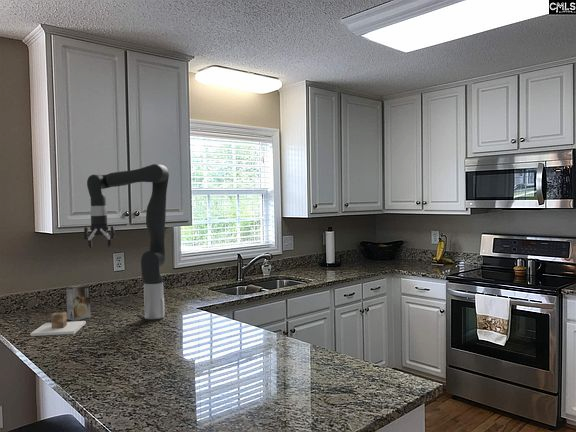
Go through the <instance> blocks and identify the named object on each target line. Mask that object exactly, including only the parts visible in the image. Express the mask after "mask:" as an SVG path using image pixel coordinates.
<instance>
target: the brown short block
mask: <svg viewBox="0 0 576 432" xmlns="http://www.w3.org/2000/svg"><path fill="white" fill-rule="evenodd" d="M50 317H51V318H50V319H51V320H50V321H51V322H50V323H52V329H54V328H64V327H65V326H66V325H67V322H68V316H67V311H63V312H54V313H52V314H51V315H50Z"/></svg>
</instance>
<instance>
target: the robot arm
mask: <svg viewBox="0 0 576 432" xmlns="http://www.w3.org/2000/svg"><path fill="white" fill-rule="evenodd" d="M169 178H170V173H169V170H168V168H167V166H165V165H163V164H158V163H153V164H150V165H147V166H144V167H141V168H137V169H131V170H122V171H115V172H110V173H107V174H91V175H89V176H88V177H87V180H86V181H87V182H86V186H87V190H88V193H89V196H90V214H89V215H90V227H88V226H85V227H83V229H84V230H83V239H84V240H87V241H88V247H89V248H90V249H92V248H93V238H94V237H95V236H105V237H106V239H107V248H111V246H112V245H113V244H112V239H115V238H116V233H115V232H116V231H115V226H114V225H111V226H108V212H107V211H108V210H107V202H106V201H107V199H106V195H105V194H104V193H103V191H102V190H104V189H109V188H113V187H122V186H124V187H125V186H128V185H130V184H131V185H132V184H135V183H151V184H152V186H151V188H152V189H151V190H152V191H151V196H150V199H149V201H148V204H147V206H146V211H145V212H146V215H145V225H146V229H147V231H148V235H149V250H148V251H145V252H143V253H142V255H141V258H140V266H141V278H142V280H143V300H144V302H143V303H144V319H145V320H158V319H159V320H160V319H164V318H165V315H166V313H165V296H164V277H163V275H161V274H160V273H161V272H160V267H162V266H163V265H164V263H165V260H166V248H165V232H166V231H165V230H166V219H167V217H166V213H167V208H166V207H167V192H168V190H167V189H168V184H169ZM108 230H109V231H110V233H111V234H109V233H108ZM90 231H91V234H90V235H89V232H90Z"/></svg>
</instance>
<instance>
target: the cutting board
mask: <svg viewBox="0 0 576 432" xmlns="http://www.w3.org/2000/svg"><path fill="white" fill-rule="evenodd" d="M86 324H87V322H86V320H81V321H80V320H77V321H67V325H66V326H65V327H64V328H54V329H52V323H51V322H45V323H43V324H42V325H41V326H39V327H38V328H36V329H35V330H33V331H32V332H30V337H36V336H37V337H39V336H58V335H59V336H60V335H75V334H76V333H77V332H78V331H80V329H81V328H82V327H83V326H85V325H86Z"/></svg>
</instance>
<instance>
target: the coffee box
mask: <svg viewBox="0 0 576 432" xmlns="http://www.w3.org/2000/svg"><path fill="white" fill-rule="evenodd" d="M90 289H91V288H90V284H89V285H88V284H79V285H72V286H67V287H66V288H65V291H66V292H65V293H66V310H67V311H66V312H67V321H68V320H70V321H71V322H74V321H80V320H81V321H82V320H85V319H89V318H92V308H91V290H90Z"/></svg>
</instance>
